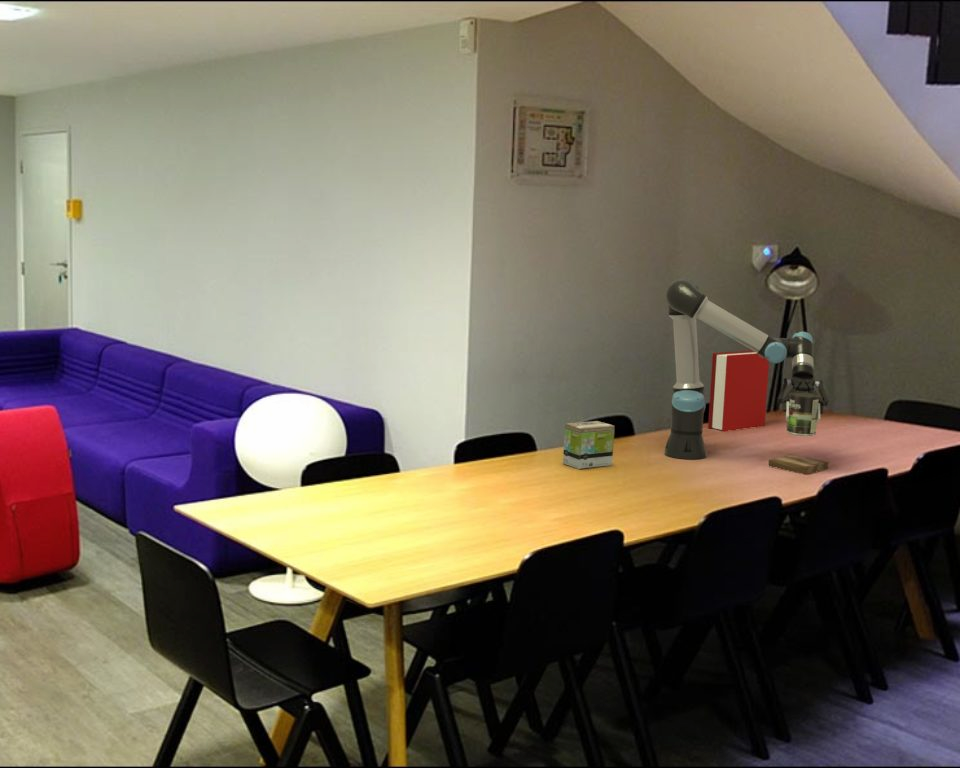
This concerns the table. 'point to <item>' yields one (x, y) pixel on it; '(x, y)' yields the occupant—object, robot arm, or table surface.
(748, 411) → the book
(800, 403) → the coffee can
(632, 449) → the table surface
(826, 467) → the walnut board
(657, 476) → the table surface
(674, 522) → the table surface
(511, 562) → the table surface
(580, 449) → the tea box
